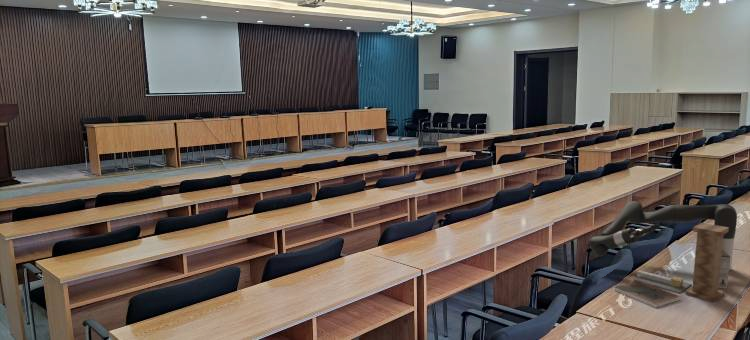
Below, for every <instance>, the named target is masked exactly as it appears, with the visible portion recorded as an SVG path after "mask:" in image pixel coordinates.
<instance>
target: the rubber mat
mask: <svg viewBox="0 0 750 340" xmlns="http://www.w3.org/2000/svg"><path fill="white" fill-rule="evenodd" d="M638 280H639V281H642V282H644V283H647V284H649V285H652V286H655V287H657V288H660V289H662V290H665V291H668V292H671V293H677V294H681V293H683V292H684V291H686V290H688V289H689V288H691V287H692V286H693V283H689V282H686V281H683V286H682V287H681V288H676V287H673V286H670V285H667V284H664V283H660V282H656V281H652V280H649V279H645V278H641V277H636V278H635V279H633V282H634V281H638Z"/></svg>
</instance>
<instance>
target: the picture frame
mask: <svg viewBox="0 0 750 340" xmlns="http://www.w3.org/2000/svg"><path fill="white" fill-rule="evenodd" d="M614 291H616V292H618V293H620V294H622V295H624V296H628V297H629V298H632V299H634V300H636V301H639V302H641V303H642V304H643V303H644V304H645V305H648V306H650V307H653V308H658V307H662V306H664V305H668V304H671V303H674V302H677V301H680V300H681V296H680V295H677V294H675V293H674V292H671V291H669V290H665V289H661V288H658V287H655V286H652V285H649V284H647V283H644V282H642V281H639V280H638V281H634V280H633V281H631V282H628V283H624V284H619V285H617V286H614Z"/></svg>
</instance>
